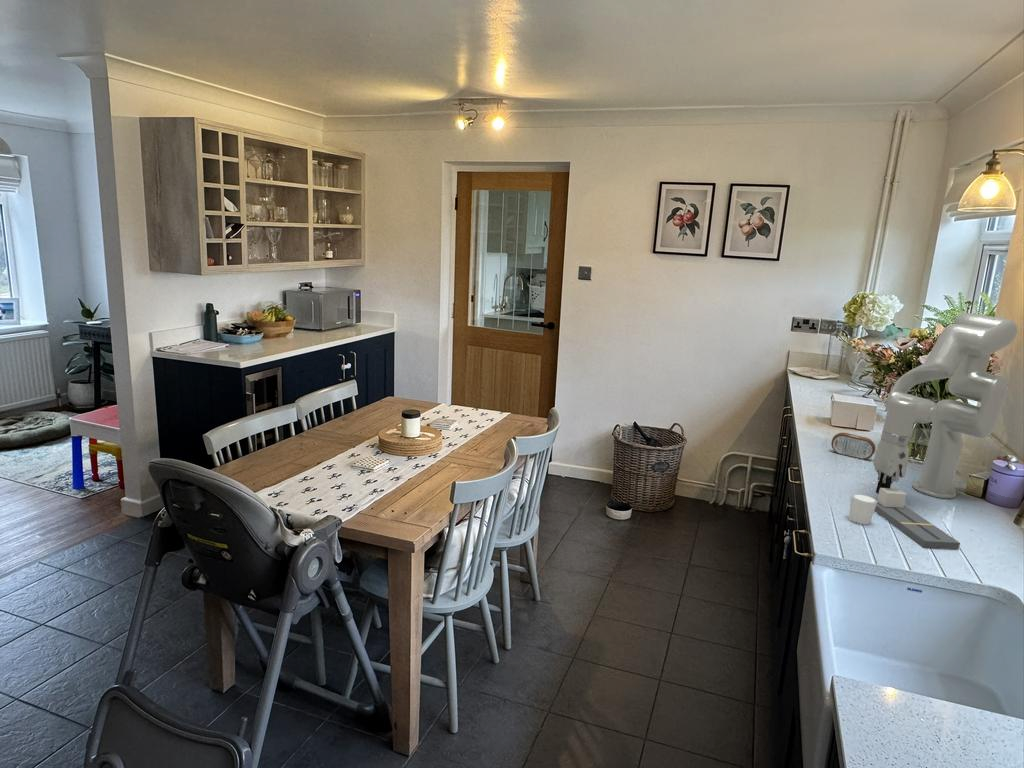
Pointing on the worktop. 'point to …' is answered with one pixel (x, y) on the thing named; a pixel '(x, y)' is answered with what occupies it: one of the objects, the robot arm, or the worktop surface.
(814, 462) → the worktop surface
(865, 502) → the white cylinder
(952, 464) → the robot arm
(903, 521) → the fader track
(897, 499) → the fader knob
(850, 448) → the tin
